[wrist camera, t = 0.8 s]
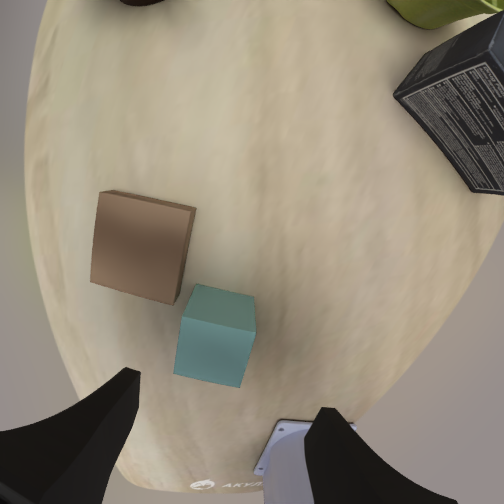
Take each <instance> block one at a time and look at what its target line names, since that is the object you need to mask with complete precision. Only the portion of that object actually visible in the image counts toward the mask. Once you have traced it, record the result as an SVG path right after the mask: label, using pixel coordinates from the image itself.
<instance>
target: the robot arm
mask: <svg viewBox="0 0 504 504" xmlns="http://www.w3.org/2000/svg"><path fill="white" fill-rule="evenodd" d="M140 375H141V372H140V371H136V370H133V369H130V368H127V367H125V368H123V369H122V370H121V371H120V372H119V373H117V374H116V375H115V376H114V377H113V378H111V379H110V380H109V381H108V382H106V383H105V384H104V385H103V386H101V387H100V388H98V389H97V390H96V391H94V392H93V393H92V394H90V395H89V396H87V397H86V398H84V399H82V400H81V401H79V402H78V403H76V404H75V405H73V406H71V407H69V408H68V409H66V410H64V411H62V412H60V413H58V414H56V415H54V416H51V417H49V418H46V419H44V420H41V421H39V422H36V423H34V424H30V425H27V426H23V427H19V428H15V429H11V430H6V431H0V504H102V501H103V497H104V493H105V490H106V487H107V484H108V480H109V477H110V474H111V472H112V469H113V467H114V465H115V463H116V461H117V458H118V456H119V454H120V452H121V450H122V448H123V446H124V444H125V442H126V439H127V437H128V435H129V433H130V431H131V429H132V426H133V423H134V420H135V417H136V414H137V411H138V408H139V392H140ZM280 428H282V429H280ZM356 429H357V427H356V425H355V424H348V422H347V421H346V420H345V419H344V418H343V417H342V415H341V414H340V413H339V412H338V411H337V410H336V409H335V408H327V407H321V409H320V411H319V413H318V414H317V416H316V418H315V420H314V421H313V423H312V422H298V421H287V420H281V421H279V422H278V423H277V425H276V427H275V429H274V431H273V433H272V435H271V437H270V439H269V441H268V443H267V445H266V448H265V450H264V452H263V453H262V455H261V457H260V459H259V461H258V463H257V465H256V467H255V469H254V474H255V475H262V476H263V490H264V504H458V503H457V501H456V500H454V499H450V498H448V497H445V496H442V495H439V494H436V493H434V492H432V491H430V490H428V489H425V488H423V487H422V486H420V485H418V484H416V483H414V482H413V481H411V480H409V479H408V478H406V477H405V476H403V475H402V474H400V473H399V472H398V471H396V470H395V469H394V468H392V467H391V466H390V465H389V464H387V463H386V462H385V461H384V460H383V459H382V458H380V457H379V456H378V455H377V454H376V453H375V452H374V451H373V450H372V449H371V448H370V447H369V446H368V445H367V444H366V443H365V442H364V441H363V439H362V438H361V437H360V436H359V435H358V434H357V433H356V432H355V431H356Z"/></svg>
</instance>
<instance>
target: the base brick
mask: <svg viewBox="0 0 504 504" xmlns="http://www.w3.org/2000/svg"><path fill="white" fill-rule="evenodd" d="M195 212H196V208H194V207H190V206H185V205H181V204H176V203H172V202H167V201H162V200H158V199H153V198H148V197H144V196H139V195H134V194H129V193H124V192H119V191H114V190H110V191H103V192H100V193H99V199H98V206H97V213H96V220H95V229H94V238H93V248H92V261H91V277H90V282H92V283H95V284H98V285H102V286H105V287H108V288H112V289H115V290H118V291H122V292H125V293H129V294H132V295H136V296H139V297H143V298H147V299H150V300H154V301H158V302H161V303H165V304H169V305H174V303H175V302H176V300H177V298H178V296H179V294H180V289H181V284H182V278H183V272H184V267H185V261H186V256H187V251H188V246H189V241H190V236H191V231H192V226H193V221H194V217H195Z"/></svg>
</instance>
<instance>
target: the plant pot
mask: <svg viewBox="0 0 504 504" xmlns="http://www.w3.org/2000/svg"><path fill="white" fill-rule="evenodd" d="M387 2H388V3H389V4H390V5H392V6H393V7H394V8H396V9H397V10H398V12H399V13H400V14H401V16H402V17H403V18H404V19H406V20H407V21H409V22H410V23H412V24H414V25H416V26H418V27H421V28H425V29H435V28H438V27H441V26H444V25H446V24H449V23H452V22H455V21H458V20H461V19H464V18H468V17H471V16H475V15H479V14H483V13H485V14H494V13H498V12H500V11H502V10H504V0H387Z"/></svg>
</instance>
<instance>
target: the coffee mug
mask: <svg viewBox="0 0 504 504" xmlns="http://www.w3.org/2000/svg"><path fill="white" fill-rule="evenodd" d="M120 1H121V2H123V3H125V4H127V5H131V6H147V5H151V4H155V3H158V2H161V1H164V0H120Z"/></svg>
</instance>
